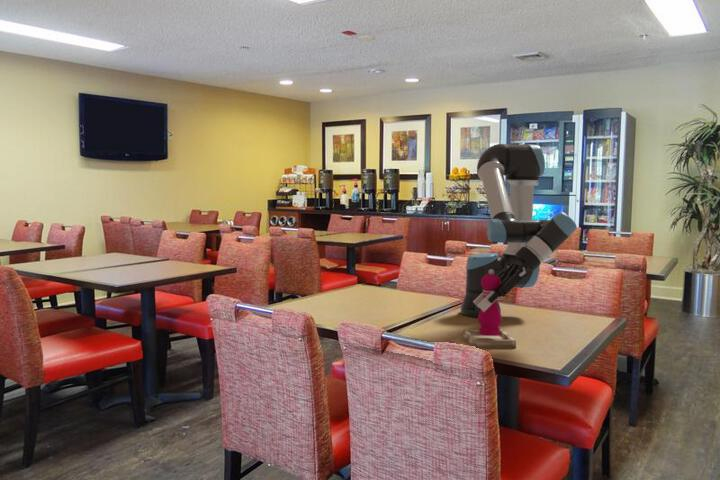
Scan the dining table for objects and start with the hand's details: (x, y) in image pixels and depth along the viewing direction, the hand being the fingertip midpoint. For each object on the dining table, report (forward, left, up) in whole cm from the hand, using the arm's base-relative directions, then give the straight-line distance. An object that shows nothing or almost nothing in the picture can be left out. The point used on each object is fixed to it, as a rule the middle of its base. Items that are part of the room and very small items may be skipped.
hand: (478, 306), depth 175 cm
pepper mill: (0, +4, -8) cm, 9 cm away
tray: (0, +4, -11) cm, 12 cm away
